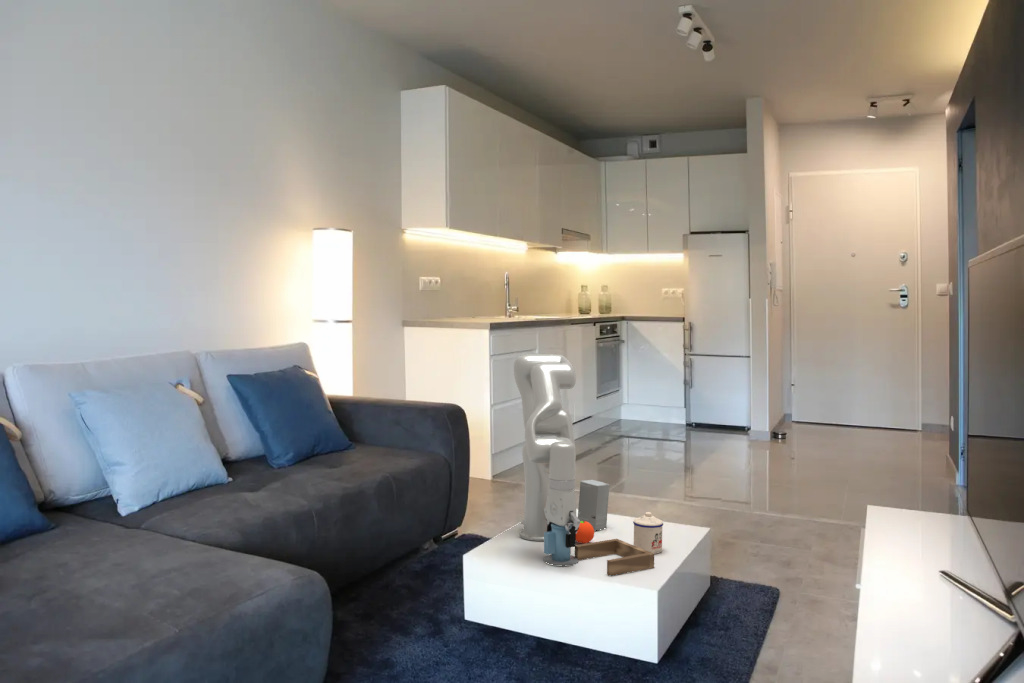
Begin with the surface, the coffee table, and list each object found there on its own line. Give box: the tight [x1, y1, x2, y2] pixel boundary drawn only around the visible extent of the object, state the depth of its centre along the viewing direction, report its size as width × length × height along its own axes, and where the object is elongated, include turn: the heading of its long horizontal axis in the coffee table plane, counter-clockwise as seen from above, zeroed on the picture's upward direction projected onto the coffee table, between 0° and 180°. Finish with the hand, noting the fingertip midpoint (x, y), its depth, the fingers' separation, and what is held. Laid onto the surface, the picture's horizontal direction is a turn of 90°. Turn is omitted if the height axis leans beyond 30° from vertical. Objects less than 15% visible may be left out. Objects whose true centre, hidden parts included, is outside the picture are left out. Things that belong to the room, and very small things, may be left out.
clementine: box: [576, 521, 595, 544], centre depth 237 cm, size 8×7×7 cm
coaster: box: [543, 554, 579, 567], centre depth 219 cm, size 10×10×1 cm
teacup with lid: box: [632, 511, 664, 555], centre depth 232 cm, size 12×9×12 cm
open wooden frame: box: [574, 538, 655, 576], centre depth 217 cm, size 17×16×4 cm
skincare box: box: [577, 479, 610, 532], centre depth 255 cm, size 8×7×16 cm
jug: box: [543, 523, 572, 562], centre depth 218 cm, size 8×6×10 cm
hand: (561, 542), depth 219 cm, fingers open, 9 cm apart
